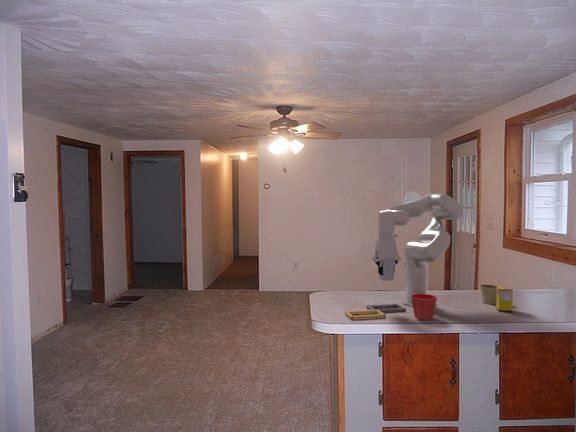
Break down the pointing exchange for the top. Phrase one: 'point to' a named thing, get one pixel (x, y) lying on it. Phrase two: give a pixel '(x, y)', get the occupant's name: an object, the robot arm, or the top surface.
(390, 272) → the plug
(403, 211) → the robot arm
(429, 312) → the flower pot
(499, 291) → the supplement box
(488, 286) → the flower pot
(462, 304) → the top surface
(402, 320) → the top surface
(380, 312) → the tan grey double frame
